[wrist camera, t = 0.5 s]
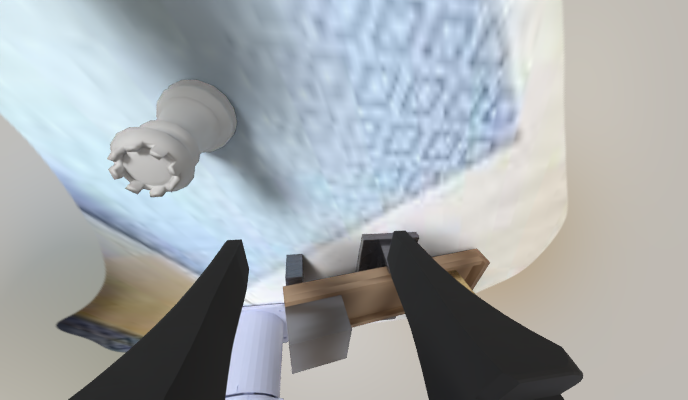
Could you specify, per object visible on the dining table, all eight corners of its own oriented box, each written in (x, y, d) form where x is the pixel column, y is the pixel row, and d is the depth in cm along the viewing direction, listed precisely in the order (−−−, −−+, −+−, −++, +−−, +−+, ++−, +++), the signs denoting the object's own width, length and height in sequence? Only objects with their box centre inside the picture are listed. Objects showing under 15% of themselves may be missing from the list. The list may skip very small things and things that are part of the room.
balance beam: (287, 328, 26) (292, 377, 22) (282, 286, 22) (288, 339, 18) (454, 287, 32) (480, 322, 28) (476, 248, 27) (509, 283, 24)
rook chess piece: (239, 148, 19) (207, 217, 12) (171, 139, 17) (98, 210, 11) (237, 85, 16) (196, 129, 10) (158, 70, 15) (54, 110, 9)
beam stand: (290, 296, 30) (289, 332, 27) (285, 238, 24) (282, 273, 21) (397, 287, 33) (408, 319, 29) (416, 232, 27) (433, 263, 23)
